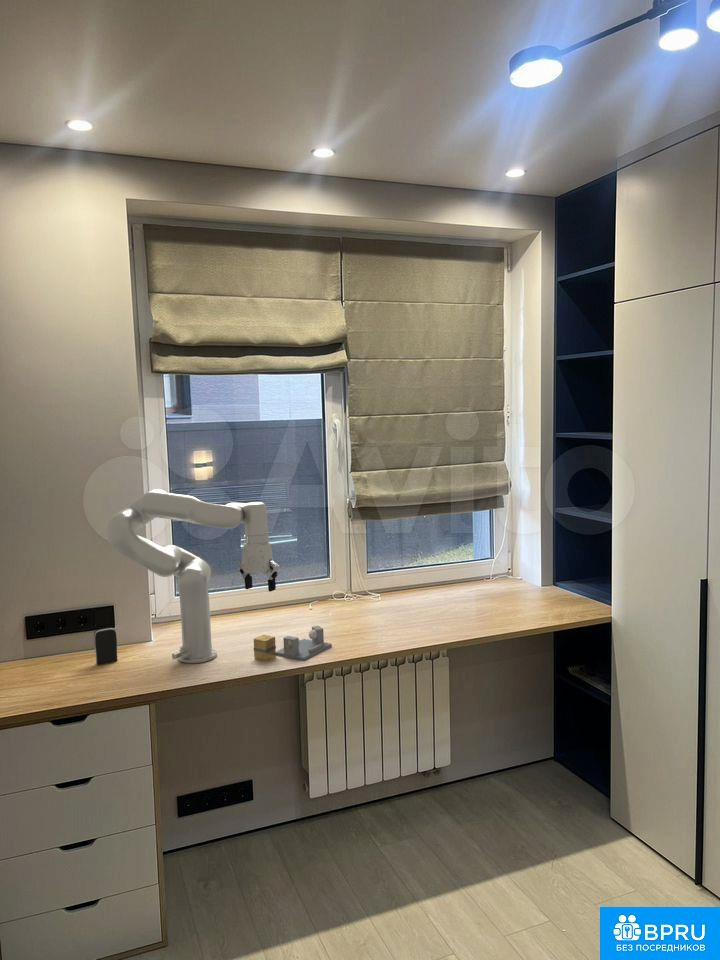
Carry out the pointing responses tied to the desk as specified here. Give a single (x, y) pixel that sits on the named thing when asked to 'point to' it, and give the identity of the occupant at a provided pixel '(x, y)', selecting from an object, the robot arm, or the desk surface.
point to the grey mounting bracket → (304, 645)
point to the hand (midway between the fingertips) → (260, 589)
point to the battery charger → (105, 646)
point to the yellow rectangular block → (264, 648)
